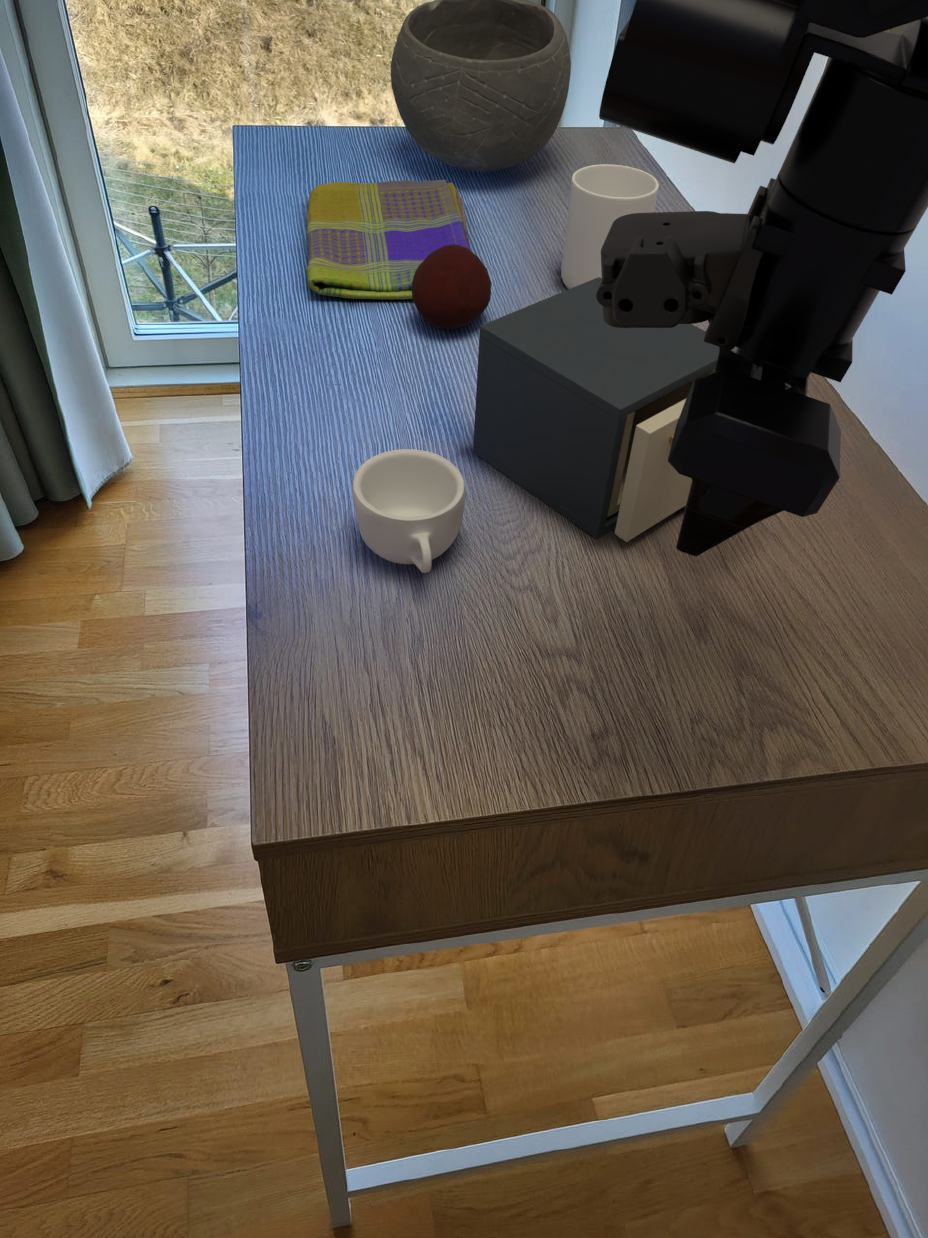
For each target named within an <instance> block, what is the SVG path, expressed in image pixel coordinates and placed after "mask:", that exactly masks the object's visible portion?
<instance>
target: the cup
mask: <svg viewBox="0 0 928 1238" xmlns="http://www.w3.org/2000/svg"><path fill="white" fill-rule="evenodd" d="M659 187H660V185H659V182H658V179H656V177H654V176H653V175H652V174H650V173H648V172H646V171H644V170H641V169H639V168H635V167H633V166H628V165H621V164H613V163H612V164H611V163H610V164H609V163H608V164H606V163H601V164H593V165H592V164H591V165H588V166H584V167H581V168H579V169H577V170H575V172H574V173H573V174H572V176H571V182H570V188H569V189H570V190H569V198H568V206H567V216H566V223H565V231H564V232H565V233H564V240H563V250H562V257H561V265H560V266H561V267H560V268H561V269H560V276H561V280H562V282H563V284H564V286H565V287H566V288H567V290H568V289H571V288H573V287H576V286H578V285H581V284H583V283H585V282H588V281H590V280H593V279H595V278H598V277H600V278H602V273H601V248H602V246H603V244H604V241H605V239H606V237H607V235H608V233H609V230H610V228H611V226H612V224H613V222H614V221H615V220H616V219H617V218H619V217H621V216H624V215H627V214H633V213H654V212H655V209H656V205H657V200H658V194H659V193H658V192H659Z"/></svg>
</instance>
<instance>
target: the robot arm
mask: <svg viewBox="0 0 928 1238" xmlns="http://www.w3.org/2000/svg"><path fill="white" fill-rule="evenodd" d="M907 24H908V25H907ZM904 25H907V26H906V27H905V29H904V30H903V31H902V33H901V34H897V33H892V32H888V31H889V30H892V29H895V28H898V27H902V26H904ZM815 54H817V55H821V56H824V57H827V58H829V59H828V60H827V63H826V65H825V67H824V70H823V72H822V74H821V76H820V78H819V82H818V83H817V86H816V88H815V90H814V93H813V95H812V96H811V99H810V102H809V104H808V106H807V108H806V110H805V113H804V115H803V117H802V120H801V122H800V123H799V127H798V129H797V131H796V133H795V136H794V138H793V140H792V142H791V144H790V146H789V149H788V151H787V153H786V155H785V158H784V161H783V163H782V166H781V167H780V169H779V171H778V174H777V175H776V177H775V178H773V177H770V179H769V181H768V184H767V186H763V185H759V187H758V189H757V191H756V193H755V196H754V198H753V200H752V202H751V205H750V206H749V209H748V211H747V213H729V212H722V213H721V212H716V211H711V210H695V211H694V210H693V211H690V210H689V211H662V212H661V211H657V212H656V211H654V213H633V214H627V215H624V216H621V217H619V218H617V219H616V220H615V221H614V222H613V224H612V226H611V228H610V230H609V233H608V235H607V237H606V239H605V241H604V244H603V246H602V248H601V273H602V281H601V284H600V286H599V288H598V291H597V294H596V297H597V300H598V302H599V303H600V304H601V305H602V306H603V319H604V322H605V323H606V324H608V325H610V326H612V327H617V328H673V327H675V326H677V325H678V324H692V325H695V324H700V323H704V322H708V325H707V328H706V330H705V331H706V333H705V338H704V342H707V343H710V344H713V345H716V346H719V355H718V359H717V363H716V368H715V372H714V373H711V374H708V375H706V376H703V377H701V378H698V379H695V380H694V383H693V385H692V387H691V389H690V392H689V394H688V396H687V398H686V401H685V403H684V406H683V409H682V411H681V414H680V417H679V419H678V422H677V425H676V428H675V433H674V437H673V441H672V445H671V449H670V453H669V457H668V462H669V463H670V464H671V465H672V467H673V468H674V469H675V470H676V471H677V472H678V473H679V474H681V475H684V476H687V477H690V478H691V479H692V483H691V487H690V491H689V495H688V499H687V504H686V505H685V508H684V511H683V512H684V513H683V516H682V520H681V524H680V529H679V533H678V537H677V541H676V545H675V546H676V550H677V551H678V552H681V553H683V554H686V555H689V556H693V557H699V556H700V555H703V554H704V553H706V552H708V551H709V550H712V549H713V548H715V547H716V546H718V545H720V544H722V543H724V542H725V541H727V540H729V539H731V538H733V537H734V536H736V535H738V534H740V533H741V532H743V531H745V530H747V529H749V528H750V527H752V526H754V525H756V524H758V523H760V522H762V521H764V520H766V519H769V518H770V517H773V516H775V515H777V514H779V513H781V512H784V511H785V512H787V513H789V514H793V515H796V516H799V517H801V518H805V517H808V516H812V515H816V514H818V513H819V511H820V509H821V508H822V506H823V505H824V503H825V502H826V500H827V498H828V497H829V495H830V493H831V492H832V491H833V489H834V488H835V486H836V485H837V483H838V482H839V480H840V478H841V477H840V473H841V441H842V439H841V438H842V430H841V429H842V428H841V427H840V425H839V422H838V420H837V418H836V416H835V413H834V410H833V407H832V405H831V404H830V403H828V402H825V401H823V400H819V399H816V398H814V397H811V396H808V392H809V391H808V390H809V378H810V375H811V374H814V375H817V376H820V377H823V378H826V379H829V380H832V381H834V382H837V383H841V382H842V381H843V380H844V377H845V375H846V374H847V372H848V371H849V369H850V367H851V365H852V364H853V349H854V348H853V345H854V344H853V341H854V340H853V339H854V337H855V335H856V333H857V332H858V330H859V328H860V326H861V324H862V323H863V321H864V319H865V318H866V316H867V314H868V312H869V311H870V309H871V307H872V305H873V303H874V302H875V300H876V299H877V297H878V295H879V293H880V292H882V293H885V294H888V295H893V294H894V292H895V290H896V289H897V287H898V286H899V284H900V281H901V280H902V279H903V276H904V275H905V273H906V271H907V269H906V268H907V267H906V255H905V248H906V246H907V244H908V243H909V241H910V239H911V237H912V236H913V234H914V232H915V231H916V229H917V226H918V225H919V223H920V221H921V219H922V218H923V217H924V215H925V212H926V211H927V209H928V0H636V1H635V4H634V7H633V10H632V13H631V15H630V18H629V19H628V21H627V23H626V24H625V26H624V27H623V28H622V30H621V32H620V33H619V35H618V38H617V41H616V45H615V47H614V51H613V54H612V58H611V62H610V65H609V68H608V72H607V76H606V80H605V84H604V87H603V92H602V97H601V100H600V106H599V115H598V117H599V120H601V121H605V122H608V123H610V124H614V125H616V126H619V127H623V128H626V129H629V130H631V131H635V132H637V133H641V134H644V135H646V136H650V137H653V138H656V139H659V140H662V141H665V142H667V143H668V142H669V143H672V144H674V145H676V146H680V147H683V148H686V149H689V150H692V151H694V152H698V153H701V154H704V155H707V156H710V157H713V158H716V159H719V160H723V161H725V162H729V163H730V164H731V163H732V164H736V163H737V161H738V159H739V157H740V155H741V154H742V153H744V154H747V155H750V156H753V157H754V156H755V155H756V152H757V150H758V149H759V146H760V144H761V142H763V143H766V144H770V145H772V146H773V145H775V143H776V141H777V140H778V138H779V135H780V133H782V130H783V127H784V126H785V123H786V122H787V119H788V117H789V114H790V112H791V110H792V107H793V106H794V103H795V101H796V98H797V96H798V93H799V91H800V89H801V86H802V84H803V81H804V78H805V76H806V74H807V71H808V69H809V66H810V63H811V62H812V59H813V57H814V55H815Z"/></svg>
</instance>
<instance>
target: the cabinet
mask: <svg viewBox="0 0 928 1238" xmlns="http://www.w3.org/2000/svg"><path fill="white" fill-rule="evenodd" d="M601 281H602V278H600V277H598V278H595V279H593V280H590V281H588V282H585V283H583V284H581V285H578V286H576V287H573V288H571V289H568V288H567V289H566V290H564V291H561V292H559V293H557V294H554V295H551V296H549V297H546V298H544V299H542V300H539V301H537V302H535V303H532V304H530V305H527V306H525V307H523V308H520V309H518V310H515V311H512V312H510V313H508V314H505V315H503V316H500V317H498V318H496V319H493V320H491V321H488V322H486V323H483V324H481V325H479V333H478V334H479V338H478V352H477V353H478V355H477V371H476V391H475V408H474V427H473V442H472V443H473V444H472V445H473V447H472V453H473V454H474V455H475V456H477V457H478V458H480V459H481V460H482V461H484V462H486V463H488V465H490V466H492V467H493V468H494V469H496V470H497V471H499V472H500V473H501V474H503V475H504V476H505V477H507V478H508V479H510V480H512V481H513V482H514V483H516V484H517V485H518V486H520V487H521V488H523V489H524V490H526V491H527V492H529V493H530V494H531V495H532V496H534V497H536V498H537V499H538V500H540V501H542V503H544V504H546V505H547V506H548V507H550V508H551V509H553V510H554V511H555V512H557V513H558V514H560V515H561V516H563V517H564V518H565V519H567V520H568V521H570V522H571V523H573V524H574V525H576V526H577V527H578V528H579V529H581V530H582V531H584V532H586V534H589V535H590V536H591V537H593V538H595V540H598V539H600V538H601V537H603V536H604V535H606V534H607V533H609V532H611V531H613V530H614V529H616V524H617V519H618V514H619V511H618V512H616V513H614V514H613V515H611V516H609V517H607V515H608V510H609V504H610V499H611V494H612V489H613V483H614V478H615V473H616V468H617V462H618V457H619V452H620V446H621V441H622V436H623V431H624V425H625V420H626V416H627V415H629V414H631V413H632V412H634V411H636V410H638V409H640V408H642V407H644V406H646V405H648V404H650V403H651V402H653V401H655V400H657V399H659V398H661V397H663V396H665V395H667V394H669V393H670V392H672V391H674V390H676V389H678V388H680V387H682V386H684V385H686V384H688V383H689V382H691V381H693V380H695V379H697V378H699V377H701V376H703V375H705V374H707V373H708V372H710V371H712V370H714V369H715V368H716V363H717V359H718V355H719V346H716V345H713V344H710V343H707V342H704V338H705V333H706V330H704V329H702V328H700V327H698V326H696V325H695V324H678V325H677V326H675V327H673V328H617V327H612V326H610V325H608V324H606V323H605V322H604V319H603V306H602V305H601V304H600V303H599V302H598V300H597V297H596V294H597V291H598V288H599V286H600V284H601Z"/></svg>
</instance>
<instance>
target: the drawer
mask: <svg viewBox="0 0 928 1238" xmlns="http://www.w3.org/2000/svg"><path fill="white" fill-rule="evenodd" d="M714 372H715V369H714V370H712V371H710V372H708V373H707V374H705V375H703V376H706V375H708V374H711V373H714ZM703 376H701V377H703ZM701 377H699V378H701ZM697 379H698V378H697ZM693 383H694V380H693V381H691V382H689V383H688V384H686V385H684V386H682V387H680V388H678V389H676V390H674V391H672V392H670V393H669V394H667V395H665V396H663V397H661V398H659V399H657V400H655V401H653V402H651V403H650V404H648V405H646V406H644V407H642V408H640V409H638V410H636V411H634V412H632V413H631V414H629V415H627V416H626V420H625V425H624V431H623V436H622V441H621V446H620V452H619V457H618V462H617V468H616V473H615V478H614V483H613V489H612V494H611V499H610V504H609V510H608V515H607V517H609V516H611V515H613V514H614V513H616V512H618V511H619V514H618V519H617V524H616V528H614V529H615V530H614V535H615V536H617V537H618V538H620V539H621V540H623V541H624V542H625V543H628V542H630V541H632V540H633V539H634V538H635V537H637V536H639V535H640V534H642V533H644V532H646V531H647V530H649V529H650V528H652V527H653V526H655V525H656V524H658V523H660V522H662V521H663V520H665V519H666V518H668V517H669V516H671V515H673V514H674V513H676V512H678V511H679V510H681V509H683V508H684V507H686V504H687V499H688V495H689V491H690V487H691V483H692V479H691V478H690V477H687V476H684V475H681V474H679V473H678V472H677V471H676V470H675V469H674V468H673V467H672V465H671V464H670V463H669V462H668V457H669V453H670V449H671V445H672V441H673V437H674V433H675V428H676V425H677V422H678V419H679V417H680V414H681V411H682V409H683V406H684V403H685V401H686V398H687V396H688V394H689V392H690V389H691V387H692V385H693Z"/></svg>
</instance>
